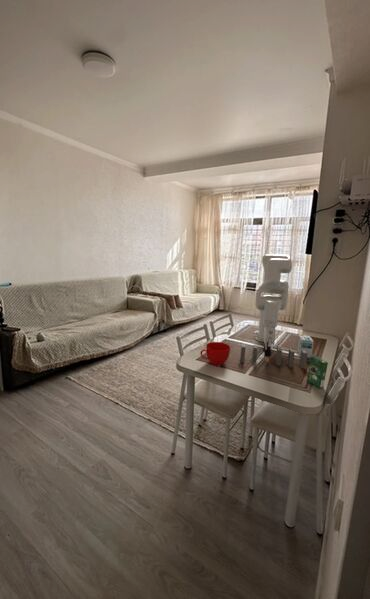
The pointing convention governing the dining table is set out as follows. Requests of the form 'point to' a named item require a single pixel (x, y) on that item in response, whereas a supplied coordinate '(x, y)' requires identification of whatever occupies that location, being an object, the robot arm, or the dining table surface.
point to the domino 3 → (265, 356)
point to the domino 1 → (242, 353)
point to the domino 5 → (290, 357)
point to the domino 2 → (254, 354)
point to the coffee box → (317, 371)
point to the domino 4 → (278, 356)
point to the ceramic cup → (217, 353)
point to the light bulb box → (305, 345)
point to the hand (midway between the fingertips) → (266, 354)
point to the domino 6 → (303, 359)
